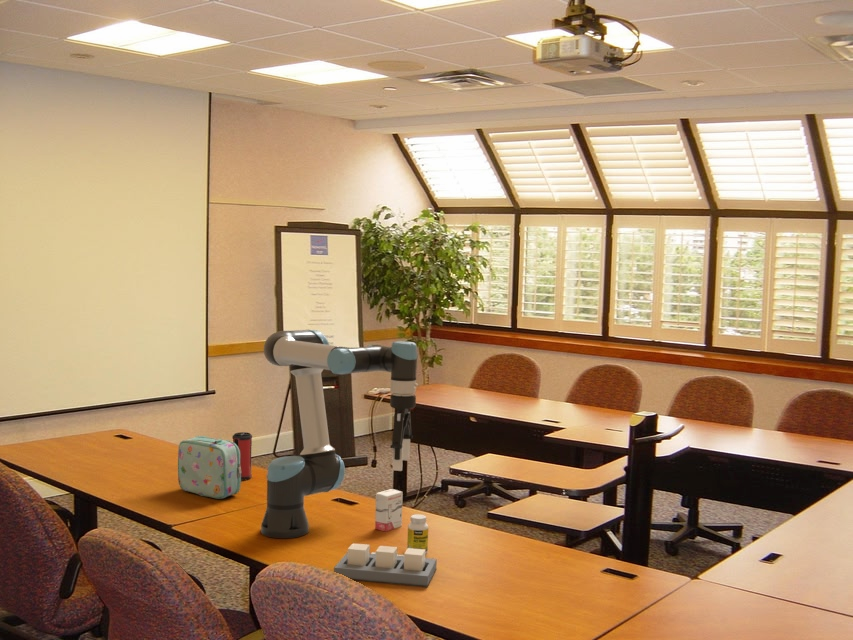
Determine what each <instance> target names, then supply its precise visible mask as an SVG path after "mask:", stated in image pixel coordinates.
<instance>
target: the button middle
mask: <svg viewBox="0 0 853 640" xmlns="http://www.w3.org/2000/svg"><path fill="white" fill-rule="evenodd" d="M375 553H376V564H375V567H383V568H394V567H395V565H396V564H397V555H398V546H389V545H379V546H378V547H377V549H376V550H375Z"/></svg>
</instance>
